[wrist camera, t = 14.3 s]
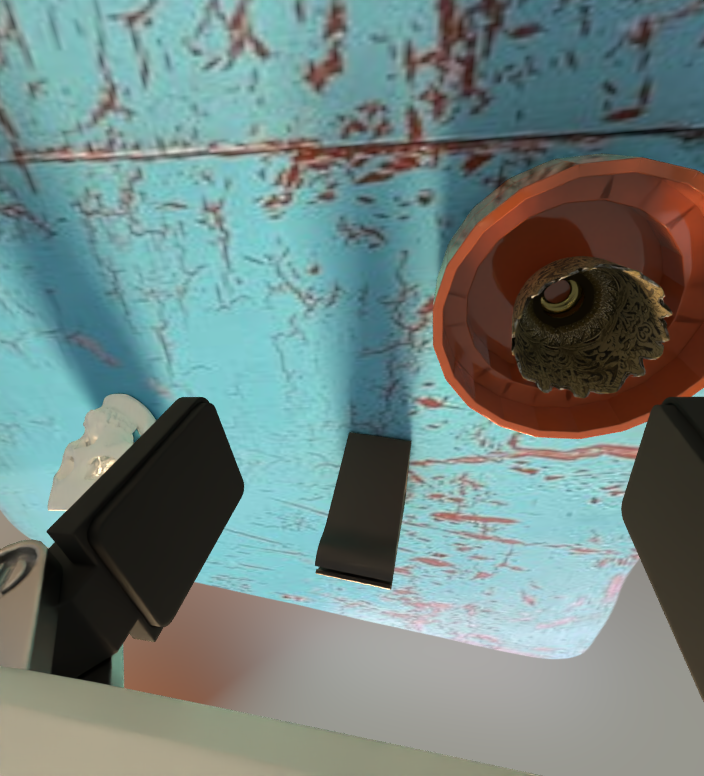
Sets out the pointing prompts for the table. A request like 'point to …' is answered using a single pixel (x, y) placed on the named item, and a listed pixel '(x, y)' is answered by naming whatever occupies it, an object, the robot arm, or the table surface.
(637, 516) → the robot arm
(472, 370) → the bowl
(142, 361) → the table surface
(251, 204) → the table surface
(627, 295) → the cup
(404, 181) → the table surface
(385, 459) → the door stopper
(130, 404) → the skull bowl
